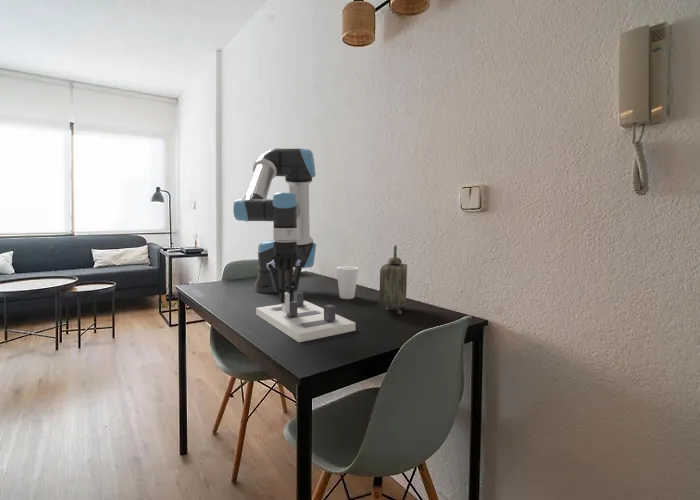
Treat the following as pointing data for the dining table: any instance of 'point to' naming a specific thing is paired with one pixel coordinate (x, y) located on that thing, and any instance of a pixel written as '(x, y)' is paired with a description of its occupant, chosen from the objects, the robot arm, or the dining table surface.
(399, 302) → the tabletop clock
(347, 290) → the foam cup
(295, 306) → the handle
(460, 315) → the dining table surface
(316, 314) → the breaker panel
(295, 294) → the handle
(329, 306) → the handle
